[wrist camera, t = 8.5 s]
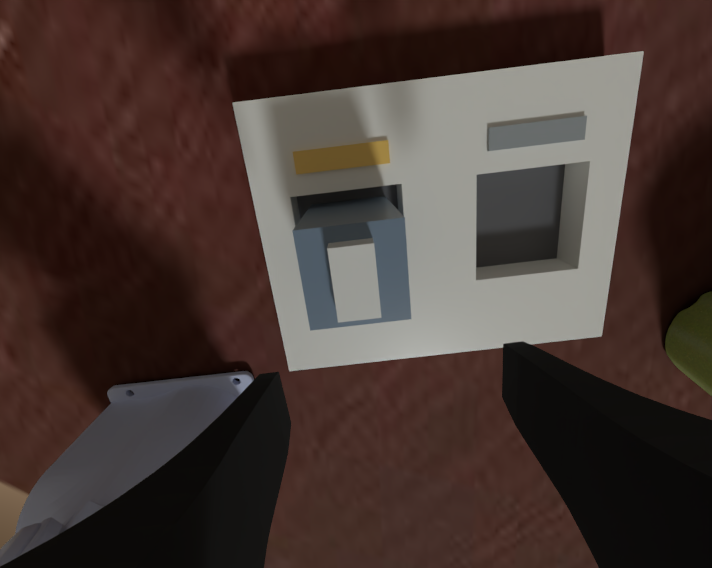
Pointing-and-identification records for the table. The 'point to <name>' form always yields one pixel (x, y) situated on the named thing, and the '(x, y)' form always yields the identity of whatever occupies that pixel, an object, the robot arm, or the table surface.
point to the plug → (353, 263)
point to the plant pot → (693, 342)
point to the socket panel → (455, 200)
